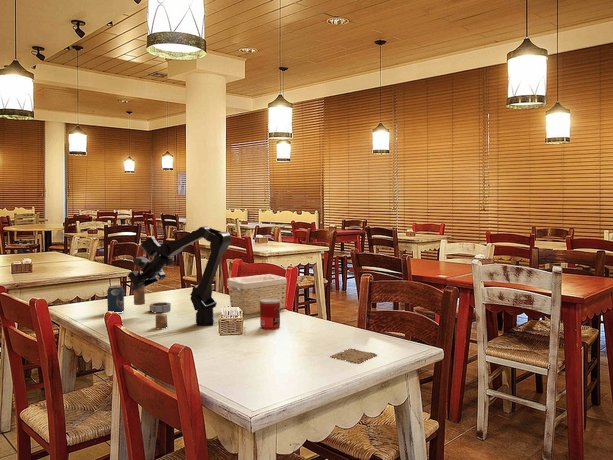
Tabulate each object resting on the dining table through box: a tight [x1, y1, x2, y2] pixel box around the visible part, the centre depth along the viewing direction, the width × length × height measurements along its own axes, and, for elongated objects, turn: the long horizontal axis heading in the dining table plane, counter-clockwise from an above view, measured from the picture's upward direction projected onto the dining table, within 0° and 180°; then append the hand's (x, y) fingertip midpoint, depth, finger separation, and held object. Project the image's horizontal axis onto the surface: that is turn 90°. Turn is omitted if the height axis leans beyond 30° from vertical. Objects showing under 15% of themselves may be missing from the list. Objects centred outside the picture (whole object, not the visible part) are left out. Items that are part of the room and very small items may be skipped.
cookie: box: [329, 348, 378, 365], centre depth 173 cm, size 12×12×1 cm
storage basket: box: [226, 273, 288, 315], centre depth 243 cm, size 24×16×15 cm
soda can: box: [106, 284, 125, 312], centre depth 235 cm, size 7×7×12 cm
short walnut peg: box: [155, 313, 168, 329], centre depth 209 cm, size 4×4×5 cm
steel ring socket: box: [149, 301, 172, 313], centre depth 240 cm, size 9×9×3 cm
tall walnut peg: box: [133, 285, 146, 306], centre depth 227 cm, size 4×4×12 cm
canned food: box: [259, 298, 281, 331], centre depth 210 cm, size 8×8×11 cm
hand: (136, 288), depth 228 cm, fingers closed on tall walnut peg, 4 cm apart
